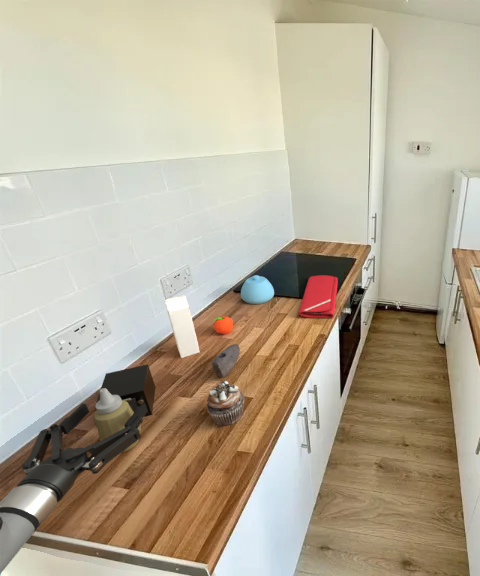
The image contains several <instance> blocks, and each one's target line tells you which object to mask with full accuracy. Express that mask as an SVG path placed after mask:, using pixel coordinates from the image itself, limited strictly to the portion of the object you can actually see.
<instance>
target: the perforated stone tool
mask: <svg viewBox="0 0 480 576" xmlns="http://www.w3.org/2000/svg"><path fill="white" fill-rule="evenodd" d="M240 351H241V349H240V345H239V344H237V343H234V344H231V345H229V346H227V347H226V348H224V349H223V350H222V351H221V352H219V353H218V354H217V355H216V356H215V358H214V359H213V360H212V361H211V366H212V367H211V370H212V372H214V374H215V376H217V377H219V378H221V379H225V377H226V376H227V375H228V374H229V373H231V371H232V369H233V368H234V366H235V365H236V362H237V361H238V359H239V356H240Z"/></svg>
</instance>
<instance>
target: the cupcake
mask: <svg viewBox="0 0 480 576" xmlns="http://www.w3.org/2000/svg"><path fill="white" fill-rule="evenodd" d="M245 400H246V399H245V395H244V393H243V392H242V391H241V389H239V386H237V385H235V384H230V383H229V382H228V381H227V380H225V379H224V380H222V381H221V382H220V383H218V384H217V385H216V386H215V387H212V388H211V389H210V390H209V391H208V397H207V404H206V408H207V409H206V410H207V413H208V414H209V415H210V417H211V419H212V420H213V422H214V424H215V425H218V426H220V427H223V426H224V427H226V426H231V425H233V424H235V423H237V422H238V421H240V419H241V418H242V416H243V415H244V406H245Z"/></svg>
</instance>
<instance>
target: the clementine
mask: <svg viewBox="0 0 480 576" xmlns="http://www.w3.org/2000/svg"><path fill="white" fill-rule="evenodd" d="M212 322H214V323H213V329H214V330H215V332H217V334H220V335H226V334H229V333H230V332H232V331H233V328H234V320H233V319H232V318H230V317H229V316H225V315H223V316H219V317H218V316H217V317H216V318H214V319H213V320H212Z"/></svg>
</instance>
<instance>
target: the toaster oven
mask: <svg viewBox="0 0 480 576" xmlns="http://www.w3.org/2000/svg"><path fill="white" fill-rule="evenodd" d="M102 388H106V389H107V390H108V391H109V392H110V394H111V395H119V396H120V398H121V400H125V401H126V402H127V403H128V404H129V406H130V407H131V409H132V411H133V412H135V411H136V410H137V409H138V407H139V406H140V405H141V404H142V403H145V405H146V408H147V411H148V412H147V413H146V415H145V416H144V417H143V418H145V417H148V416H152V415H153V410H154V403H155V395H156V388H157V387H156V385H155V381H154V378H153V374H152V372H151V369H150V366H149V364H143V365H139V366H134V367H133V366H132V367H129V368H125V369H120V370H116V371H115V370H114V371H112V372H106V373H105V375H104V378H103V381H102V384H101V387H100V390H101V389H102ZM99 400H100V392H99V393H98V396H97V399H96V402H95V404H97V402H98V401H99Z"/></svg>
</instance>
